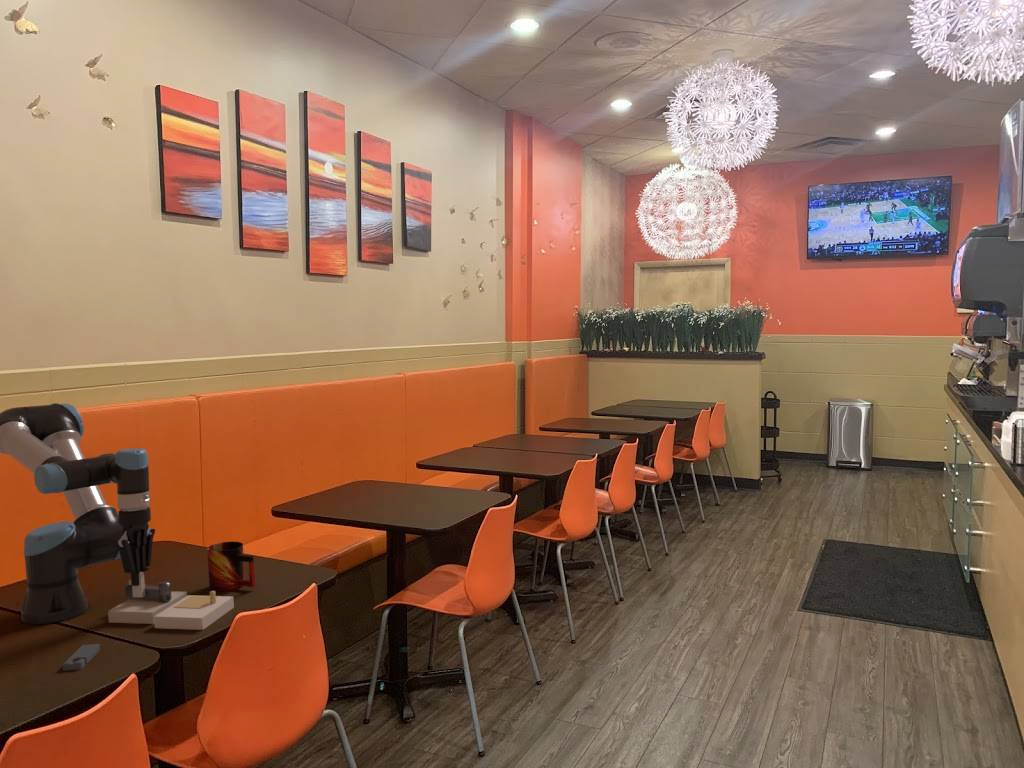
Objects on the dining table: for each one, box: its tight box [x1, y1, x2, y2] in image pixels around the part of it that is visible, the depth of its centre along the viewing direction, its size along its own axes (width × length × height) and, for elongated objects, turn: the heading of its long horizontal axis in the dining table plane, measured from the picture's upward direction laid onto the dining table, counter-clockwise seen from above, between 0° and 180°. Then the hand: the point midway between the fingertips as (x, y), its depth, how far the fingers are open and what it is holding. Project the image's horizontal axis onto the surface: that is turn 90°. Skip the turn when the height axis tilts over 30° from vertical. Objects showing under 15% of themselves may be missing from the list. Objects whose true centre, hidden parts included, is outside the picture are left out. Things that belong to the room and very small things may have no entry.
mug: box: [206, 541, 256, 594], centre depth 218 cm, size 10×14×12 cm
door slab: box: [153, 591, 235, 631], centre depth 195 cm, size 13×15×6 cm
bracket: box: [62, 643, 101, 672], centre depth 171 cm, size 4×10×2 cm, turn 8°
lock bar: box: [125, 579, 172, 602], centre depth 200 cm, size 13×3×5 cm, turn 71°
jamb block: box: [107, 590, 188, 625], centre depth 200 cm, size 12×15×3 cm
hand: (139, 596), depth 199 cm, fingers closed
